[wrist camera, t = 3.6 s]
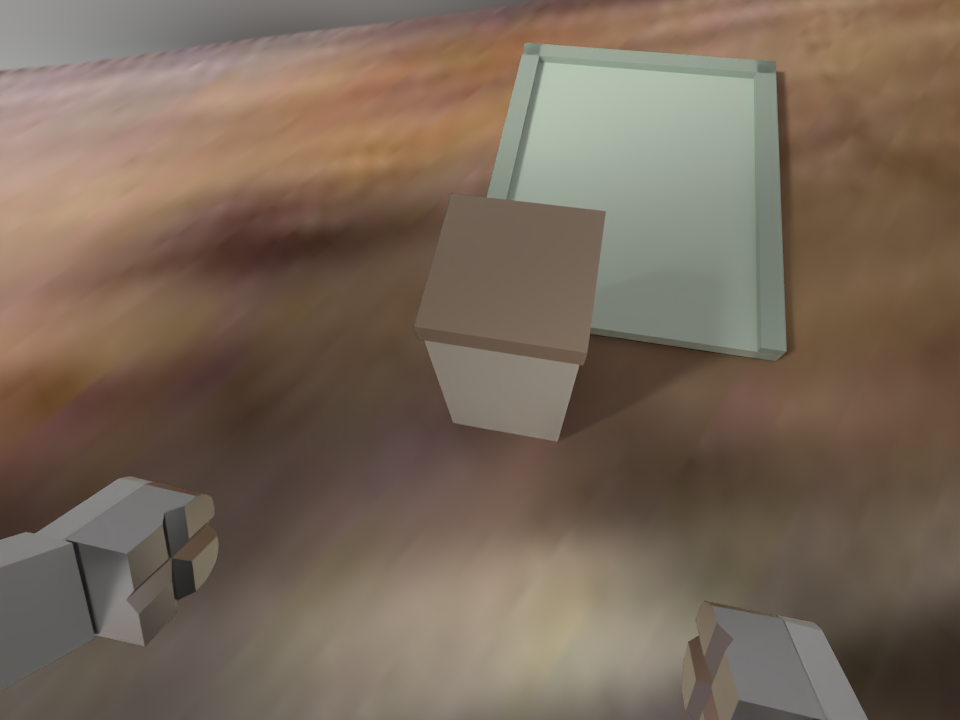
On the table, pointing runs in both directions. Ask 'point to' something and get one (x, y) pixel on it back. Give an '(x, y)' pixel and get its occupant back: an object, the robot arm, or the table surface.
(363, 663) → the table surface
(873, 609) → the table surface
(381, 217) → the table surface
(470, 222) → the canister
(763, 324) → the tray
